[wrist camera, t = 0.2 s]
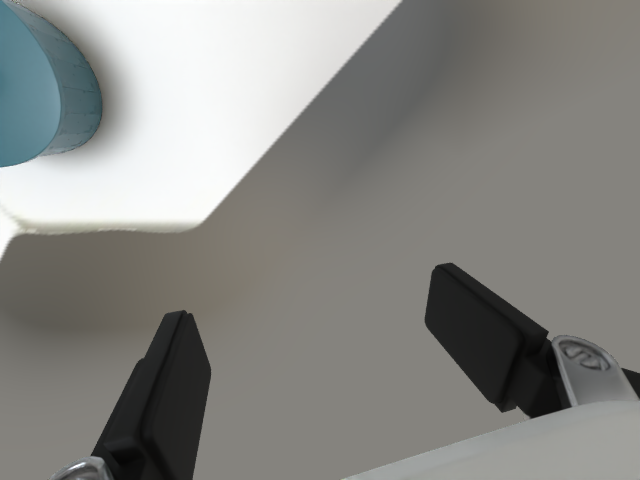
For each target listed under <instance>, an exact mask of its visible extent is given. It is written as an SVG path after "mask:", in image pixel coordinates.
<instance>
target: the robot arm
mask: <svg viewBox="0 0 640 480" xmlns="http://www.w3.org/2000/svg"><path fill="white" fill-rule="evenodd" d="M425 324H426V326H427V328H428V329H429V330H430V332H431V333H432V334H433V335H434V337H435V338H436V339H437V340H438V341H439V343H440V344H441V345H442V346H443V347H444V349H445V350H446V351H447V352H448V353H449V355H450V356H451V357H452V358H453V359H454V361H455V362H456V363H457V364H458V365H459V366H460V368H461V369H462V370H463V371H464V373H465V374H466V375H467V376H468V377H469V379H470V380H471V381H472V382H473V383H474V385H475V386H476V387H477V388H478V389H479V391H481V393H482V394H483V395H484V397H485V398H486V399H487V400H488V401H489V402H491V403H493V404H495V405H496V406H497V408H498V409H499V410H500V411H501V412H502V413H503V412H506V411H510V410H513V409H516V406H518V407H519V408H520V409H521V410H522V411H523V417H524V421H523V422H520V423H517V424H514V425H511V426H507V427H504V428H501V429H498V430H495V431H491V432H488V433H485V434H482V435H479V436H475V437H472V438H469V439H466V440H463V441H459V442H456V443H453V444H450V445H447V446H444V447H441V448H437V449H434V450H431V451H428V452H425V453H422V454H419V455H415V456H412V457H409V458H406V459H403V460H400V461H397V462H394V463H391V464H387V465H384V466H381V467H378V468H375V469H372V470H369V471H365V472H362V473H359V474H356V475H353V476H350V477H347V478H344V479H341V480H640V373H637V372H633V371H630V370H627V369H624V368H620V366H619V365H618V363H617V361H616V360H615V359H614V358H613V357H612V355H610V354H609V353H608V352H607V351H605V350H604V349H602V348H601V347H599V346H597V345H596V344H594V343H591V342H589V341H587V340H585V339H581V338H578V337H574V336H568V335H561V336H557V337H554V339H553V340H552V342H551V341H550V340H548V339H547V338H546V337H547V335H548V333H549V332H548V331H547V330H546V329H544V328H543V327H541V326H540V325H539V324H537V323H536V322H534V321H533V320H531V319H530V318H529V317H527V316H526V315H525V314H523V313H522V312H520V311H519V310H517V309H516V308H515V307H513V306H512V305H511V304H509V303H508V302H506V301H505V300H504V299H502V298H501V297H499V296H498V295H497V294H495V293H494V292H492V291H491V290H490V289H488V288H487V287H485V286H484V285H482V284H481V283H480V282H478V281H477V280H476V279H474V278H473V277H471V276H470V275H469V274H467V273H466V272H464V271H463V270H462V269H460V268H459V267H457V266H456V265H454V264H453V263H446V264H440V265H437V266H436V267H435V269H434V270H433V271H432V275H431V281H430V288H429V294H428V301H427V307H426V315H425ZM210 379H211V367H210V364H209V361H208V358H207V355H206V352H205V349H204V346H203V343H202V340H201V338H200V335H199V332H198V329H197V326H196V323H195V320H194V317H193V315H192V314H191V313H189V314H187V312H186V311H185V310H182V311H176V312H171V313H167V314H165V316H164V317H163V320H162V322H161V324H160V326H159V328H158V330H157V332H156V334H155V337H154V338H153V341H152V343H151V345H150V347H149V349H148V351H147V353H146V355H145V357H144V358H142V359H141V360H139V361H138V363H137V364H136V366H135V368H134V370H133V372H132V374H131V376H130V378H129V380H128V382H127V384H126V386H125V388H124V390H123V392H122V394H121V396H120V398H119V400H118V402H117V404H116V406H115V408H114V410H113V412H112V414H111V416H110V418H109V420H108V422H107V424H106V426H105V428H104V430H103V432H102V434H101V436H100V438H99V440H98V442H97V444H96V446H95V448H94V450H93V452H92V454H91V456H90V457H85V458H81V459H79V460H77V461H74V462H72V463H70V464H68V465H67V466H65V467H64V468H62V469H61V470H59V471H58V472H56V473H55V474H54V475H53V476H52V477H50V478H49V479H48V480H192V478H193V473H194V468H195V461H196V457H197V451H198V445H199V440H200V434H201V429H202V423H203V417H204V412H205V406H206V401H207V395H208V389H209V384H210Z"/></svg>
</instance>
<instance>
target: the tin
mask: <svg viewBox="0 0 640 480" xmlns="http://www.w3.org/2000/svg"><path fill="white" fill-rule="evenodd" d="M5 1H6V2H7V3H8V4H9V5H10V6H11V7H12V8H13V9H14V10H15V11H16V12H17V13H18V14H19V15H20V16H21V17H22V18H23V19H24V20H25V22H26V23H27V24H28V25H29V26H30V27H31V28H32V30H33V31H34V32H35V34H36V35H37V36H38V38H39V39H40V41H41V42H42V43H43V45H44V47H45V48H46V50H47V52H48V53H49V55H50V57H51V58H52V61H53V63H54V65H55V67H56V69H57V71H58V74H59V77H60V80H61V83H62V87H63V92H64V98H65V117H64V122H63V126H62V129H61V131H60V134H59V136H58V138H57V139H56V141H55V142H54V143H53V145H52V146H51V147H50V148H49V149H48V150H47V151H46V152H45V153H43V154H41V155H40V156H45V155H51V154H57V153H63V152H66V151H69V150H72V149H75V148H77V147H79V146H81V145H83V144H84V143H86V142H87V141H88V140H89V139H90V138H91V137H92V136H93V134H94V133H95V132H96V130H97V128H98V126H99V123H100V120H101V115H102V98H101V92H100V89H99V85H98V82H97V80H96V77H95V75H94V73H93V71H92V69H91V67H90V65H89V64H88V62H87V61H86V59H85V58H84V56H83V55H82V53H81V52H80V51H79V50H78V48H77V47H76V46H75V45H74V44H73V43H72V42H71V41H70V40H69V39H68V38H67V37H66V36H65V35H64V34H63V33H62V32H61V31H60V30H58V29H57V28H56V27H55V26H53V25H52V24H51V23H49V22H48V21H46V20H45V19H43V18H42V17H40V16H38V15H36V14H35V13H33V12H31V11H30V10H28V9H26V8H25V7H23V6H21V5H19V4H17V3H15V2H13V1H11V0H5Z"/></svg>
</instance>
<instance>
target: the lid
mask: <svg viewBox="0 0 640 480" xmlns="http://www.w3.org/2000/svg"><path fill="white" fill-rule="evenodd" d="M64 117H65V98H64V92H63V87H62V83H61V80H60V77H59V74H58V71H57V69H56V67H55V65H54V63H53V61H52V58H51V57H50V55H49V53H48V52H47V50H46V48H45V47H44V45H43V43H42V42H41V41H40V39H39V38H38V36H37V35H36V34H35V32H34V31H33V30H32V28H31V27H30V26H29V25H28V24H27V23H26V22H25V20H24V19H23V18H22V17H21V16H20V15H19V14H18V13H17V12H16V11H15V10H14V9H13V8H12V7H11V6H10V5H9V4H8V3H7V2H6V1H5V0H0V167H7V166H13V165H18V164H22V163H25V162H28V161H30V160H33V159H35V158H37V157H38V156H40V155H41V154H43V153H45V152H46V151H47V150H48V149H49V148H50V147H51V146H52V145H53V143H54V142H55V141H56V139H57V138H58V136H59V134H60V131H61V129H62V126H63V122H64Z"/></svg>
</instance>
